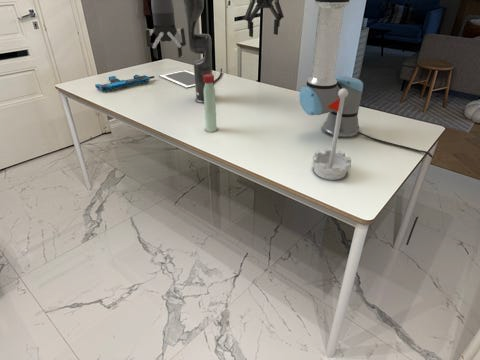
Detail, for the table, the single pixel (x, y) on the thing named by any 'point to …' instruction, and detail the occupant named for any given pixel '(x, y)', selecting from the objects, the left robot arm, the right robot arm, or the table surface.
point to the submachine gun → (122, 82)
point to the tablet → (181, 78)
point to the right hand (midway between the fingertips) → (263, 35)
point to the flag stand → (333, 149)
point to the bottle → (210, 107)
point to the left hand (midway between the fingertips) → (168, 57)
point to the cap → (208, 78)
